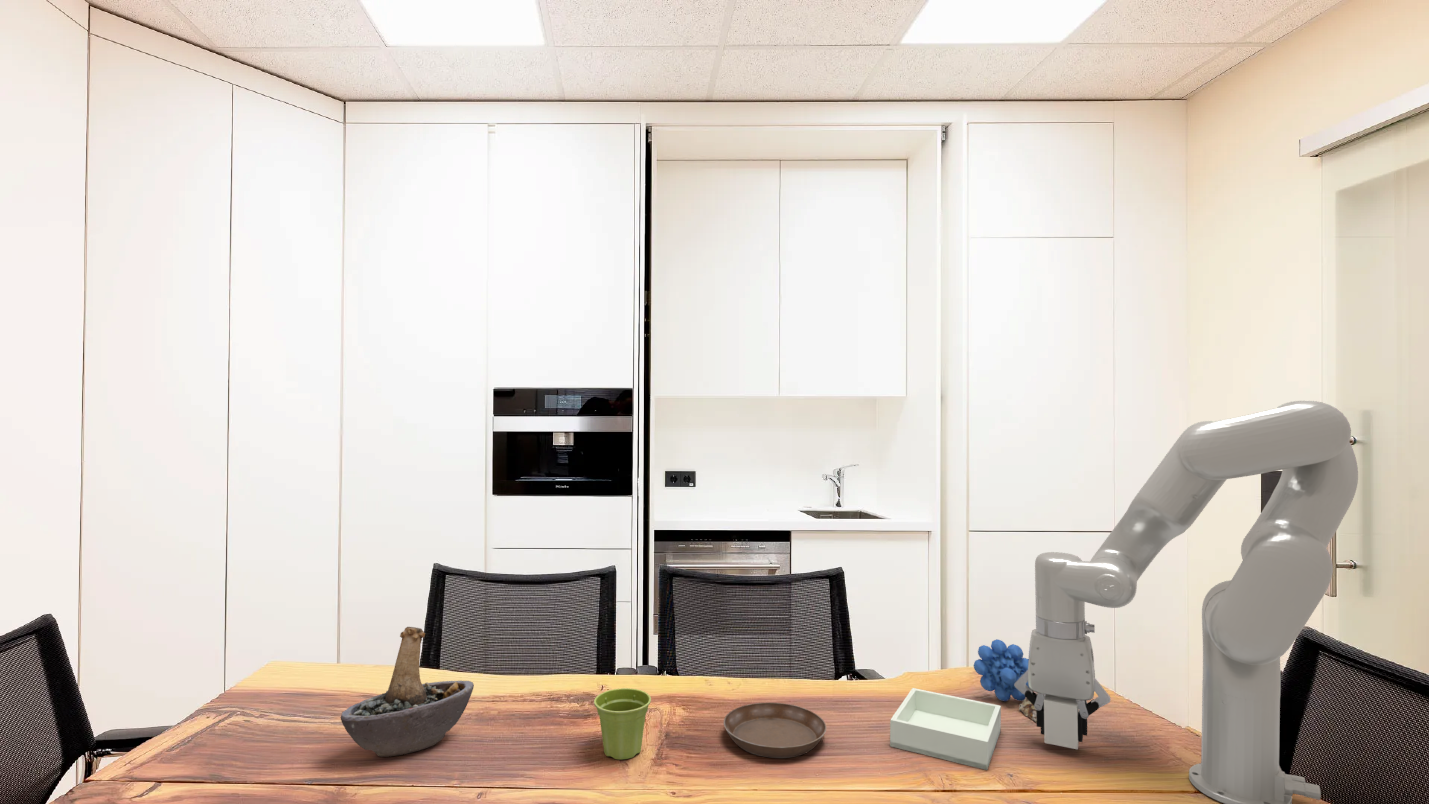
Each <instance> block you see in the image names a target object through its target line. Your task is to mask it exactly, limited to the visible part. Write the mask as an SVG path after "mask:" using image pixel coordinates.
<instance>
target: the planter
mask: <svg viewBox="0 0 1429 804" xmlns="http://www.w3.org/2000/svg"><path fill="white" fill-rule="evenodd" d="M425 636H426V633H425V631H424V630H423V629H422V628H420V627H414V626H407V627H405V628H404V630H402V631H401V632H400V634H399V637H400V638H401V641H400V642H401V643H400V646H399V649H398V653H397V656H396V660H395V664H394V669H393V671H392V676H391V680H390V683H389V686H388V688H387V690H386V692H384V693H382V694H378V695H375V696H372V697H371V698H367V699H363V700H362V701H360V702H358V703H355V704H353V705H350V706H349V707H348V708H347V709H346V710H344V711H342V712H341V716H340V720H341V721H340V722H341V723H342V725H343V727H344V729H345V731H346V733H347V734H348V735H349V736H350V737H351V738H352V740H353V742H355V743H356V744H357V745H358V746H360V747H361V748H363V749H364V750H365V751H366V750H367V751H372V752H374V753H375V754H376V755H377V756H378V757H380V758H384V757H385V758H386V757H387V758H388V757H389V756H390V757H396V756H402V755H403V754H404V755H407V754H411V753H415V752H420V751H422V750H424V749H425V750H426V749H427V748H429V747H432V746H435V745H436V744H437V743H438V742H441V741H442V740H443V739H444V737H445V736H446V734H447V732H449V731H450V730H451V729H452V728H453V727H454V726H455V725H456V724H458V722H459V720H460V718H461V717H462V715H463V714H464V712H465V710H466V709H467V706H468V704H469V701H470V698H471V697H472V693H473V691H474V685H475V684H474V683H473V682H474V681H473V682H472V681H471V680H443V681H434V682H426V681H425V683H422V681H421V675H420V659H421V644H422V641H423V639H424V638H425ZM390 757H389V758H390Z"/></svg>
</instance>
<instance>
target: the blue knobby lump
mask: <svg viewBox="0 0 1429 804" xmlns="http://www.w3.org/2000/svg"><path fill="white" fill-rule="evenodd" d="M977 655H978V656H979V658H978V659H976V660H974V662H973V663H974V664H973V669H974V671H975V672H976V673H977V675H980V676H981V677H980V681H979V683H980V685H981V687H982V688H983V689H984V690H985V691H987V692H994V695H995V698H997V699H998V700H999V701H1001V702H1008V701H1010V698H1011V697H1012V699H1014V700H1015V701H1019V702H1023V700H1025V699H1026V697H1025V695H1024V694H1022V693H1021V692H1020V691H1019V690H1018V689H1017V688H1016V687H1015V686H1014V684H1015V681H1016V680H1017V679H1018V678H1019V677H1020V676H1021V675H1022V674H1023V673H1024V672H1025V671H1026V670H1027V669H1028V659H1029V658H1026V657H1024V652H1023V649H1022V647H1020V646H1019V645H1016V644H1014V643H1013V644H1009V645H1008V646H1007V644H1006V643H1005V642H1004V641H1003V640H1002V639H1001V640H1000V639H994V640H992V641H991V644H990V646H988V645H986V644H982V645H981V646H979V647H978V650H977ZM1026 685H1027V686H1028V688H1029V685H1028V682H1027V683H1026ZM1029 689H1030V688H1029Z"/></svg>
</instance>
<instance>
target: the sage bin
mask: <svg viewBox="0 0 1429 804" xmlns="http://www.w3.org/2000/svg"><path fill="white" fill-rule="evenodd" d="M1001 713H1002V705H999V704H994V703H989V702H984V701H979V700H974V699H969V698H964V697H961V696H954V695H950V694H945V693H940V692H935V691H931V690H930V691H929V690H925V689H919V688H915V687H912V688H911V689H910V691H909V692H908V694H907V695H906V697H905V698H904V700H903V701H902V703H900V705H899V706H898V708H897V710H896V711H895V713H894V714H893V715H892V717H891V719H889V720H890V721H889V722H890V723H889V729H890V730H889V747H892V748H896V749H899V750H902V751H903V750H904V751H909V752H911V753H916V754H920V755H922V756H923V755H925V756H927V757H928V756H929V757H932V758H936V759H940V760H944V761H947V762H952V763H957V764H960V765H965V766H969V767H972V768H977V769H981V770H985V771H988V770H989V766H990V763H991V760H992V758H993V754H994V751H995V748H996V746H997V743H998V740H999V737H1000V734H1001V730H1002V729H1001V727H1002V723H1001V720H1002V719H1001V717H1002V716H1001V715H1002V714H1001Z"/></svg>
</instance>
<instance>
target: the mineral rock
mask: <svg viewBox="0 0 1429 804" xmlns="http://www.w3.org/2000/svg"><path fill="white" fill-rule="evenodd" d="M1034 693H1035V694H1036V695H1037V694H1038V693H1037V692H1034ZM1018 706H1019V707H1018V710H1019V711H1020V712H1022V713H1023V715H1024V716H1025V717H1027V718H1029V719H1031V721H1033V722H1034V723H1036V724H1037V717H1036V709H1035V708H1034V705H1033V704H1032V703H1031V702H1030V701H1029V700H1028V699H1027V698H1025V699H1024V700H1023V701H1022V703H1019V705H1018Z"/></svg>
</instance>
